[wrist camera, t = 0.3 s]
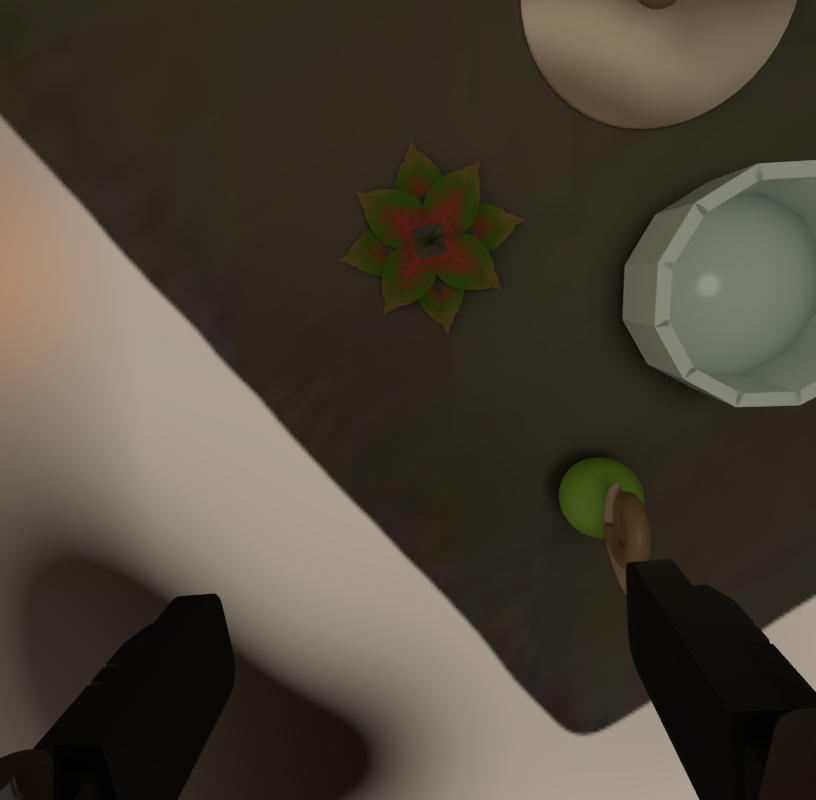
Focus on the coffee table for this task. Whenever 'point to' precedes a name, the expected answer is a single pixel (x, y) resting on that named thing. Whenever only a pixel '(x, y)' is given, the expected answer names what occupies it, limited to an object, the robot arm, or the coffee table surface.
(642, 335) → the bowl
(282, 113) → the coffee table surface
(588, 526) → the snail figurine
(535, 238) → the coffee table surface
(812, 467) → the coffee table surface
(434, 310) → the lily flower
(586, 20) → the lid
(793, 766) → the robot arm
